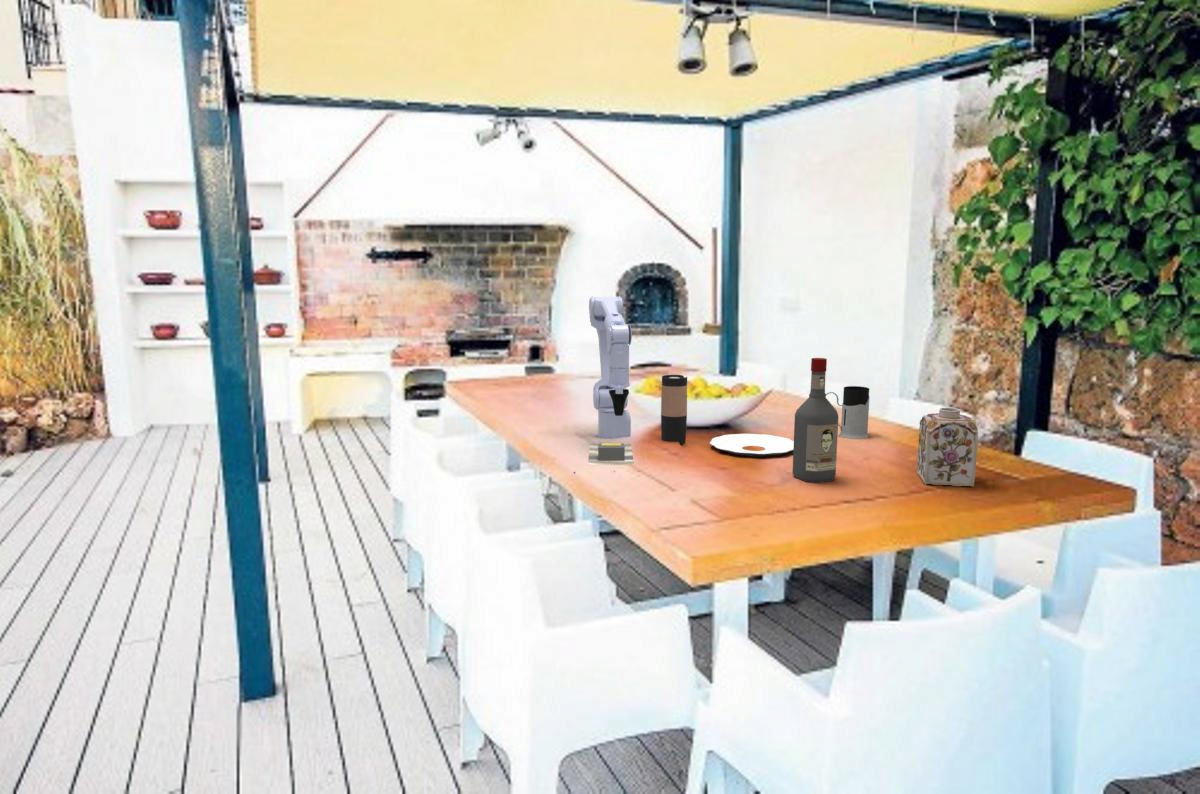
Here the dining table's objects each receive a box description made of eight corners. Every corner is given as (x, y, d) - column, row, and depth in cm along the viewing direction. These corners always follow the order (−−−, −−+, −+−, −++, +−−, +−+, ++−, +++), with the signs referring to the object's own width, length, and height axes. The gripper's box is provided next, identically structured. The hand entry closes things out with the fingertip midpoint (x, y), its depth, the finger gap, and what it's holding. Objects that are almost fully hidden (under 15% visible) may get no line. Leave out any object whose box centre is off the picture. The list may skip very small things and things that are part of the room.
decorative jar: (964, 475, 207) (969, 405, 204) (975, 488, 196) (981, 414, 193) (914, 472, 210) (919, 403, 207) (922, 485, 198) (927, 412, 195)
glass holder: (872, 439, 248) (875, 390, 246) (825, 438, 249) (827, 390, 246) (863, 433, 257) (866, 385, 254) (818, 432, 257) (820, 385, 255)
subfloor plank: (589, 448, 237) (589, 443, 237) (631, 448, 237) (631, 444, 237) (588, 469, 213) (588, 464, 213) (634, 469, 213) (634, 464, 213)
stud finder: (598, 456, 222) (598, 442, 222) (623, 456, 222) (623, 442, 222) (598, 460, 217) (598, 446, 217) (624, 460, 217) (624, 446, 217)
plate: (743, 436, 254) (743, 430, 254) (815, 449, 236) (815, 442, 236) (692, 449, 237) (692, 442, 236) (765, 464, 219) (765, 457, 219)
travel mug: (657, 444, 241) (658, 377, 238) (665, 439, 248) (665, 374, 245) (682, 446, 238) (683, 379, 235) (689, 441, 245) (690, 375, 242)
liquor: (787, 474, 208) (792, 357, 203) (817, 471, 211) (822, 355, 206) (809, 483, 199) (815, 361, 194) (840, 480, 203) (846, 360, 198)
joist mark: (588, 460, 223) (588, 456, 222) (632, 460, 223) (632, 456, 222) (588, 464, 219) (588, 459, 218) (633, 464, 219) (633, 459, 218)
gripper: (604, 364, 236) (604, 410, 239) (604, 371, 222) (604, 420, 224) (629, 364, 236) (628, 410, 239) (630, 371, 222) (630, 420, 224)
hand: (618, 415), depth 231 cm, fingers closed
